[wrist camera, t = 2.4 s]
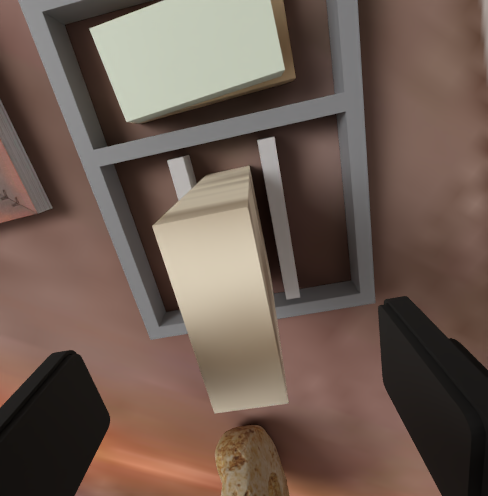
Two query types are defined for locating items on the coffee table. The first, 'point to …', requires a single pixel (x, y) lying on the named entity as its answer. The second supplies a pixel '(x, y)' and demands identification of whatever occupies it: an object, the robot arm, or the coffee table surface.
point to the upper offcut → (187, 53)
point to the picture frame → (17, 177)
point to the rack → (103, 157)
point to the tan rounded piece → (249, 463)
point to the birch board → (225, 290)
